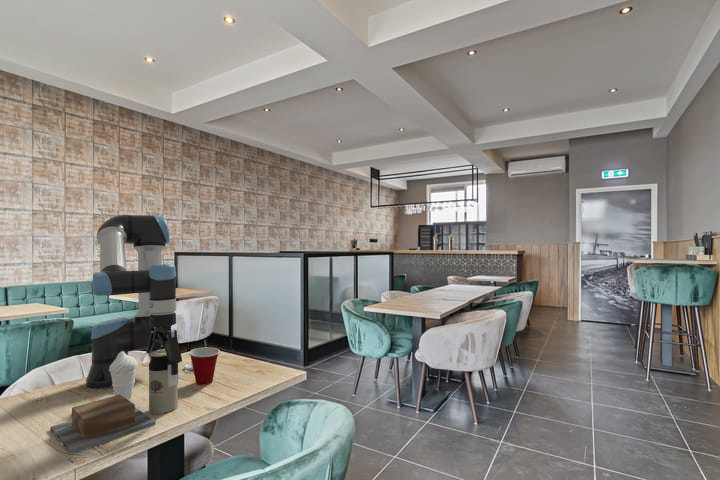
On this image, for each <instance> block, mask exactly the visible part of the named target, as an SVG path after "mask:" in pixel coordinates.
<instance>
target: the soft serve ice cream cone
mask: <svg viewBox="0 0 720 480" xmlns="http://www.w3.org/2000/svg"><path fill="white" fill-rule="evenodd" d="M138 366H139V365H138V360H136V358H135V357H133V356H131V355H129V354H128V355H126V354H125V353H124V352H123V351H122V352H120V353H119V354H118V356H117V357H116V360H115V361H114V362H113V363H112V364H111V365H110V366H109V367H110V369H109V371H110V372H111V377H112V386H113V387H112V388H113V391H114V392H113V393H114V396H116V395H119V394H120V395H121V396H123V397H124V398H126V399H127V400H129V401H130V400H131V398H132V397H133V390H134V386H135V383H136V373H137V368H138Z"/></svg>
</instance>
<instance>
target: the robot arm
mask: <svg viewBox="0 0 720 480" xmlns="http://www.w3.org/2000/svg"><path fill="white" fill-rule="evenodd" d="M169 229H170V228H169V225H168V221H167V219H166V218H165V217H164V216H162V215H153V214H151V215H149V214H147V215H146V214H145V215H140V214H139V215H138V214H119V215H116V216H113V217H111V218H108V219H107V220H105V221H104V222H103V223H102V224H101V225H100V227H99V228H98V230H97V232H96V241H97V244H99V271H97V272H94V273H93V274H92V295H94V296H96V297H98V296H100V297H101V296H104V297H105V296H107V297H110V296H119V295H128V294H129V295H132V294H138V295H137V296H138V312H137V313H135V315H134V317H133V318H134V319H133V320H130V321H129V318H128V317H121V318H119V317H118V318H112V319H108V320H104V321H101V322H99V323H96V324H94V325H93V327H91V337H90V339H91V365H90V369H89V371H88V373H87V377H86V379H85V388H88V389H94V390H95V389H107V388H113V386H112V377H111V372H110V371H109V369H110V367H109V366H110V365H111V364H112V363H113V362H114V361H115V360H116V357H117V356H118V354H119V353H120V352H122V351H123V352H124V353H125V354H126V355H128V356H129V352H136V351H144V350H146V352H145V353H146V354H148V357H149V362H150V361H151V356H150V353H151V352H153V351H156V350H161V348H162V347H163V349H165V351H166V354H167V357H168V360H169V362H168V364H167V365H168V386H169V387H170V386H173V385H177V386H178V385H179V364H180V363H181V362H183V357H182V353H181V349H180V344H179V340H178V339H179V338H178V330H177V329H173V330H172V327H173V326H174V325H176V324H177V313H176V311H177V296H176V295H177V293H176V292H177V289H176V288H177V272H176V266H175V264H174V263H163V261H162V258H163V257H162V254H163V253H162V252H163V251H164V250H165V249H166V244H169V243H170V239H171V238H170V230H169ZM125 244H132V245H133V246H132V247H133V249H134V250H135V251H136V252H137V270H127V261H126V260H127V259H126V258H127V257H126V248H125Z"/></svg>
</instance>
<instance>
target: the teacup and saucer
mask: <svg viewBox="0 0 720 480" xmlns="http://www.w3.org/2000/svg"><path fill="white" fill-rule="evenodd" d="M190 363H191V364H185V365H184V366H183V369H184V372H185V373H187V374H188V373H190V374H194V371H193V365H192V360H190ZM190 370H192V371H190Z"/></svg>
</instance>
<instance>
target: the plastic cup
mask: <svg viewBox="0 0 720 480" xmlns="http://www.w3.org/2000/svg"><path fill="white" fill-rule="evenodd" d="M220 351H221V350H220V349H218V348H215V347H198V348H194V349H191V350H190V351H189V356H190V361H192V365H193V370H192V372H194V373H193V376H194V380H195V384H196V385H197V386H207V385H210V384H211V383H213V381H214V375H215V371H216V364H217V359H218V356H219V354H220Z"/></svg>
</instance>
